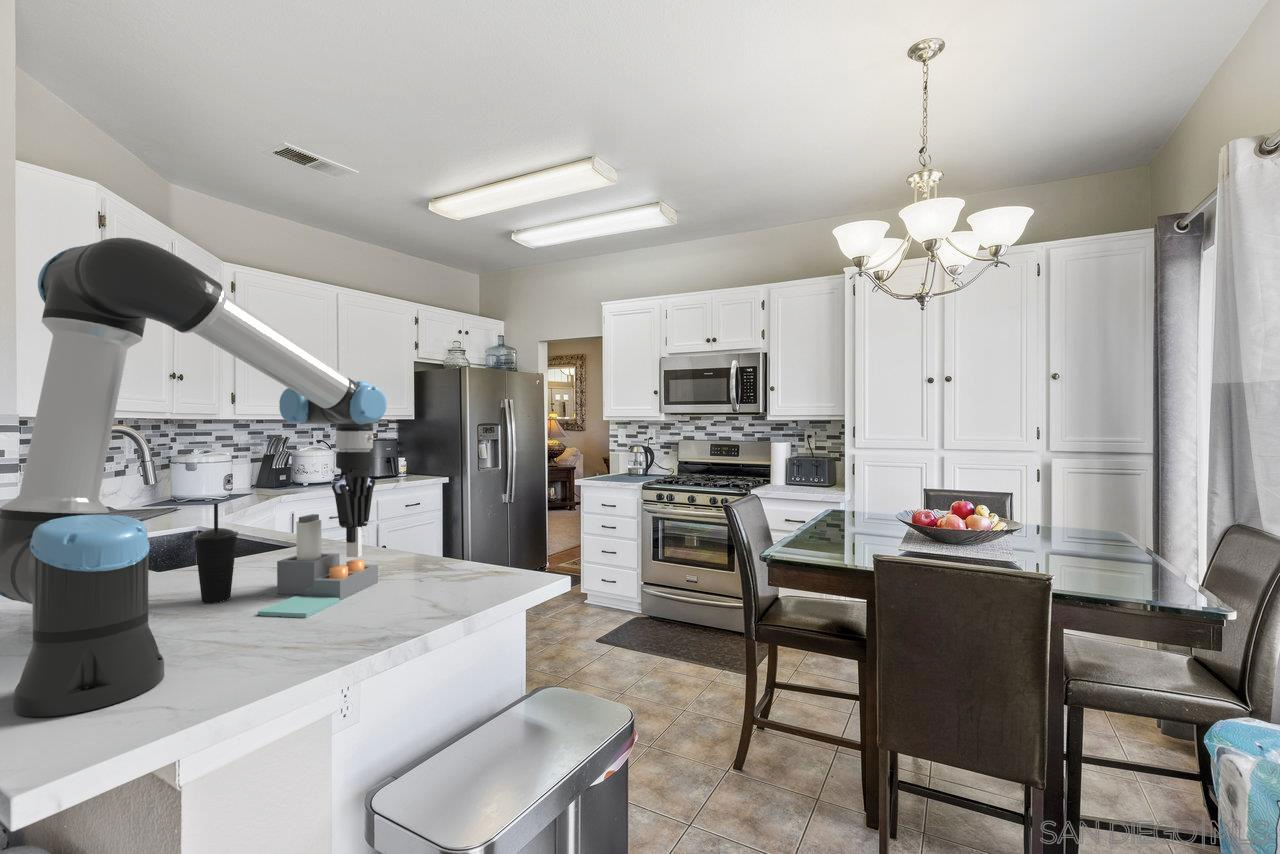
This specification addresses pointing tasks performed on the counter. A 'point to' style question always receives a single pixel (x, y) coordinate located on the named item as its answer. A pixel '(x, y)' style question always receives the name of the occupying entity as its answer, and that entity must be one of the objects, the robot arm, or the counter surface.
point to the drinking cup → (215, 561)
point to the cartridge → (308, 538)
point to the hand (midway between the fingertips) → (354, 556)
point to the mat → (299, 606)
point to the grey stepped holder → (321, 577)
